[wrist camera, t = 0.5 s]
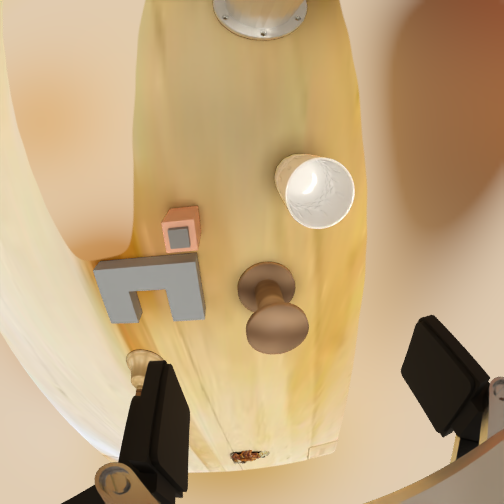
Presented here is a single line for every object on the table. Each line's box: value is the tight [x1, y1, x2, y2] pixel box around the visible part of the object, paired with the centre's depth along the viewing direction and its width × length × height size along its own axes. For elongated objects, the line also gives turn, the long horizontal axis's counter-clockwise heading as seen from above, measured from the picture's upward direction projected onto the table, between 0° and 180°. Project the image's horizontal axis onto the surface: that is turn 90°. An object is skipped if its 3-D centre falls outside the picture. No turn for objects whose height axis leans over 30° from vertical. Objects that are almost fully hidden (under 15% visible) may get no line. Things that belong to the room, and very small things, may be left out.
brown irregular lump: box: [230, 450, 269, 464], centre depth 70 cm, size 7×12×4 cm, turn 97°
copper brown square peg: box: [161, 206, 201, 253], centre depth 36 cm, size 4×4×7 cm
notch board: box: [93, 253, 206, 323], centre depth 41 cm, size 16×10×3 cm, turn 93°
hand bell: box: [126, 350, 163, 396], centre depth 43 cm, size 8×8×16 cm
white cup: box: [274, 154, 355, 229], centre depth 33 cm, size 8×8×10 cm
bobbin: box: [238, 262, 309, 354], centre depth 40 cm, size 9×9×11 cm
